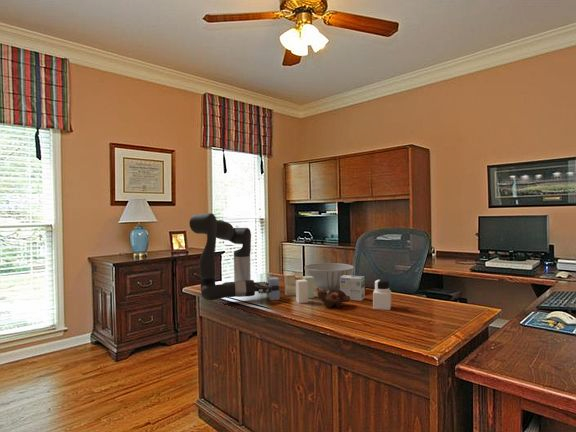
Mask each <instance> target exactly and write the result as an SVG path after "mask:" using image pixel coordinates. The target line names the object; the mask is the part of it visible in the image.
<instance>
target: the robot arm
mask: <svg viewBox="0 0 576 432" xmlns="http://www.w3.org/2000/svg"><path fill="white" fill-rule="evenodd" d="M188 222H189V223H188V224H189V227H190V230H191V231H192V232H193V233H195V234H200V235H201V234H203V235H206V238H207V239H206V243H205V246H204V248H203V250H202V252H201V254H200V257H199V260H198V261H199V262H198V263H199V275H200V294H201V297H202V298H203V299H204V300H206V301H215V300H219V299H224V298H242V297H244V298H245V297H254V296H255V294H256V292H257V293H258V294H266V293H267V294H269V293H271V291H278V290H279V291H280V285H279V286H268V281H258V282H255V281H254V279H251V278H252V277H251V251H252V250H251V249H252V248H251V247H252V232H251V229H250V228H248V227H233V225H232V224H231V223H230V222H227V221H225V220H219V219H217V218H216V215H215V214H213V213H211V212H209V213H207V212H206V213H205V212H204V213H196V214H193V215H192V216H191V217H190V219H189V221H188ZM217 239H219V240H223V241H228V242H231V243H232V244H235V245H241V247H240V248H239V249H236V250H234V251H233V275H234V276H233V278H234V279H233V280H234V281H226V282H223V283H222V284H221V283H220V284H216V277H215V276H216V264H215V263H216V262H215V260H216V259H215V255H216V254H215V253H216V243H217V242H216V241H217ZM268 288H269V290H268Z"/></svg>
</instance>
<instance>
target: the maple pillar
mask: <svg viewBox="0 0 576 432" xmlns="http://www.w3.org/2000/svg"><path fill="white" fill-rule="evenodd" d="M284 295H286V296H287V297H288V296H296V274H293V273H289V274H287V273H286V274H284Z"/></svg>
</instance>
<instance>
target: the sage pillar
mask: <svg viewBox="0 0 576 432" xmlns="http://www.w3.org/2000/svg"><path fill="white" fill-rule="evenodd" d="M304 279H305V280H307V281H308V299H312V298H313V299H314V298H315V285H314V277H312V276H307V275H304V276H302V280H304Z"/></svg>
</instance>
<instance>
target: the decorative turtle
mask: <svg viewBox="0 0 576 432" xmlns="http://www.w3.org/2000/svg"><path fill="white" fill-rule="evenodd" d="M316 295H317V297H318V298H319V300H320V301H322V303H323V305H325V306H326V307H327V308H328V309H331V308H332V307H333V306H336V307H337V308H340V307H341V306H342V305H343V303H349V302H350V301H351V300H350V296H347V295H346V294H345V293H344V292H343V291H341V290H338V289H329V290H327V291H325V290H319V289H318V291H317V294H316Z"/></svg>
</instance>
